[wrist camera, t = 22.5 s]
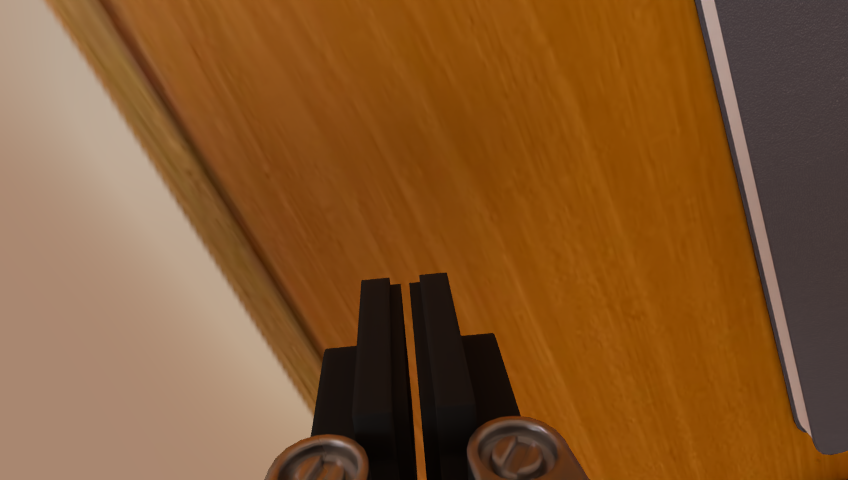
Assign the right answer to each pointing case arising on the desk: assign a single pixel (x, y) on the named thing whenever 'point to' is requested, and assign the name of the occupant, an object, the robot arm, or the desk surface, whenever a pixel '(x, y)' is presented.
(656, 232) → the desk surface
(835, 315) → the notebook
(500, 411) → the robot arm
